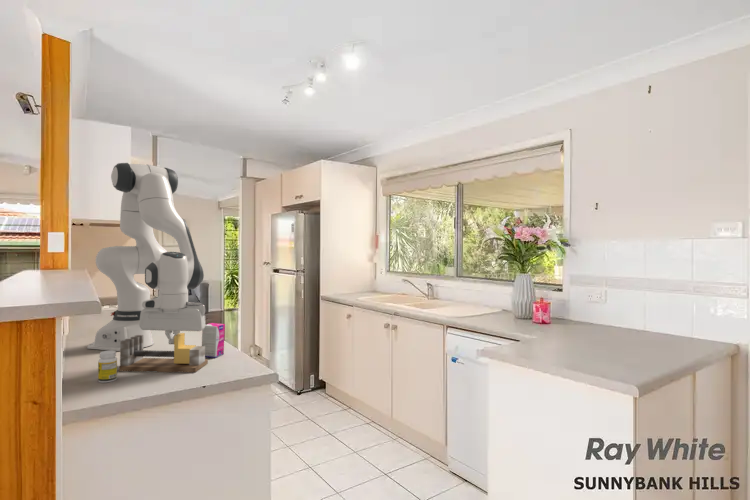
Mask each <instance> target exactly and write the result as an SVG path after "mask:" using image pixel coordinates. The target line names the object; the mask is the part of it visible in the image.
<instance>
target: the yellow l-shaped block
mask: <svg viewBox="0 0 750 500" xmlns="http://www.w3.org/2000/svg"><path fill="white" fill-rule="evenodd" d="M185 334H186V333H185V332H180V334H178V335H176V336H174V335H173V336H174V344H173V346H174V347H173V351H174V357H173V359H174V363H179V364H189V359H190V349H192V348H194V347H195V346H197V345H195V344H194V345H193V344H191V345H190V344H185V342H186V341H185V339H186V337H185Z"/></svg>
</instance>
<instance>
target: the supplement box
mask: <svg viewBox="0 0 750 500" xmlns="http://www.w3.org/2000/svg"><path fill="white" fill-rule="evenodd" d="M225 328H226V324H225V323H219V322H218V323H216V322H210V323H207V324H206V323H205V328H204V329H203V330H201V331H202V332H201V333H202V334H201V335H202V336H201V346H205V359H208V358H209V359H216V358H219V357H220V356H221V357H222V356H223V355H224V354H225V352H224V351H225V333H226V331H225V330H226V329H225Z"/></svg>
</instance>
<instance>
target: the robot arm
mask: <svg viewBox="0 0 750 500" xmlns="http://www.w3.org/2000/svg"><path fill="white" fill-rule="evenodd" d="M110 180H111V183H112V186H113V187H114V188H115V190H116V191H119V192H122V197H121V202H120V214H119V215H120V219H119V229H120V231H121V232H122V234H124V235H126V236H128V237H129V238H131V239H134V240H135V243H136V245H133V246H132V245H131V246H129V245H128V246H127V245H123V246H122V245H115V246H108V247H103V248H101V249H99V251H98V252H97V254H96V256H95V265H96V268H97V269H98V271H100V272H101V274H104V275H105V276H107V278H109V280H111V281H112V284H113V285H114V287H115V290H116V295H117V296H116V297H117V298H116V299H117V309H116V310H115V311H113V312H110V315H109V316H111V317H112V316H113V317H112V320H111V321H109V322H107V323H106V324H105V325H103V326H102V327H101V328H99V329H98V330H97V332H95V338H94V341H93V342H91V343H89V344H88V345H87V348H86V349H89V350H99V351H100V350H101V351H110V350H112V351H116V352H120V341H122V340H125V339H131V337H135V335H143V348H146V347H150V346H153V345H154V344H155V342H154V339H153V335H152V331H161V332H162V331H164V333H165V336H166V338H167V339H168V345H174V336H176V335H178V334H180V333H181V332H201V331H202V330H203V329H204V328H205V325H206V316H205V313H206V307H205V305H204V304H203V303H201V302H194V301H193V302H192V301H190V302H189V290H195V289H197V287H198V286H199V285H201V283H202V282H203V280H204V276H205V275H204V269H203V267H202V264H201V263H200V259H199V258H198V254H197V252H196V248H195V245H194V241H193V239H192V235H191V232H190V228H189V225H188V223H187V221H186V220H185V219H184V218H183V217H181V216H180V214H179V213H178V211H177V210H176V207H175V204H174V203H175V201H174V195H173V194H174V193H175V192H176V191H177V190H178V185H179V177H178V175H177V173H176V171H174V170H173V169H170V168H168V167H162V166H157V165H151V164H141V163H128V162H118V163H116V164H115V165H113V169H112V172H111V175H110ZM154 230H157V231H160V232H162V233H165V234H167V235H169V236H171V237H172V238H173V239H175V241H176V242H177V246H178V249H179V251H178V252H177V251H168V250H167V249H165V247H163V246H162V245H161V244H160V243H159V242H158V240H157V238H156V236H155V233H154ZM134 275H144V283H145V284H146V285H145V284H143V283H140V282H138V281H136V280H135V276H134ZM149 288H150V289H152V290H158V295H157V296H156V297H153V298H151V290H150V289H149Z"/></svg>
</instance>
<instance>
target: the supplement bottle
mask: <svg viewBox="0 0 750 500" xmlns="http://www.w3.org/2000/svg"><path fill="white" fill-rule="evenodd" d="M116 356H117V351H113V350H102V351H100V353H99V359H98V365H97V367H98V368H97V373H98V374H97V382H98V383H101V384H105V383H106V384H107V383H113V382H115V381H117V380H118V358H117V357H116Z"/></svg>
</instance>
